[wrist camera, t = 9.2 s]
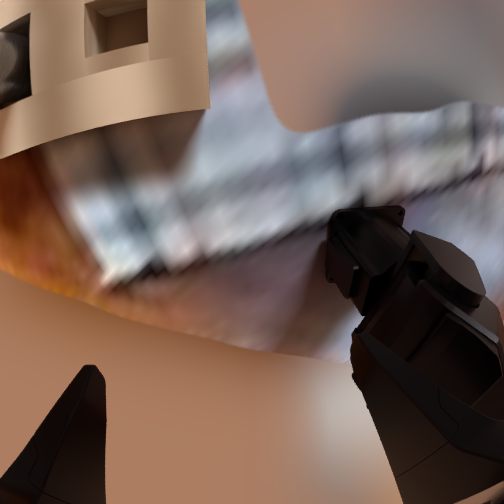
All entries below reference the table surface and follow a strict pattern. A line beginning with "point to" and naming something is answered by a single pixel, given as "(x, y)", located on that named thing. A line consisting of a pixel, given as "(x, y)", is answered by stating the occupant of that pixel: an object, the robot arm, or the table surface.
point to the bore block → (103, 65)
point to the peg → (14, 67)
